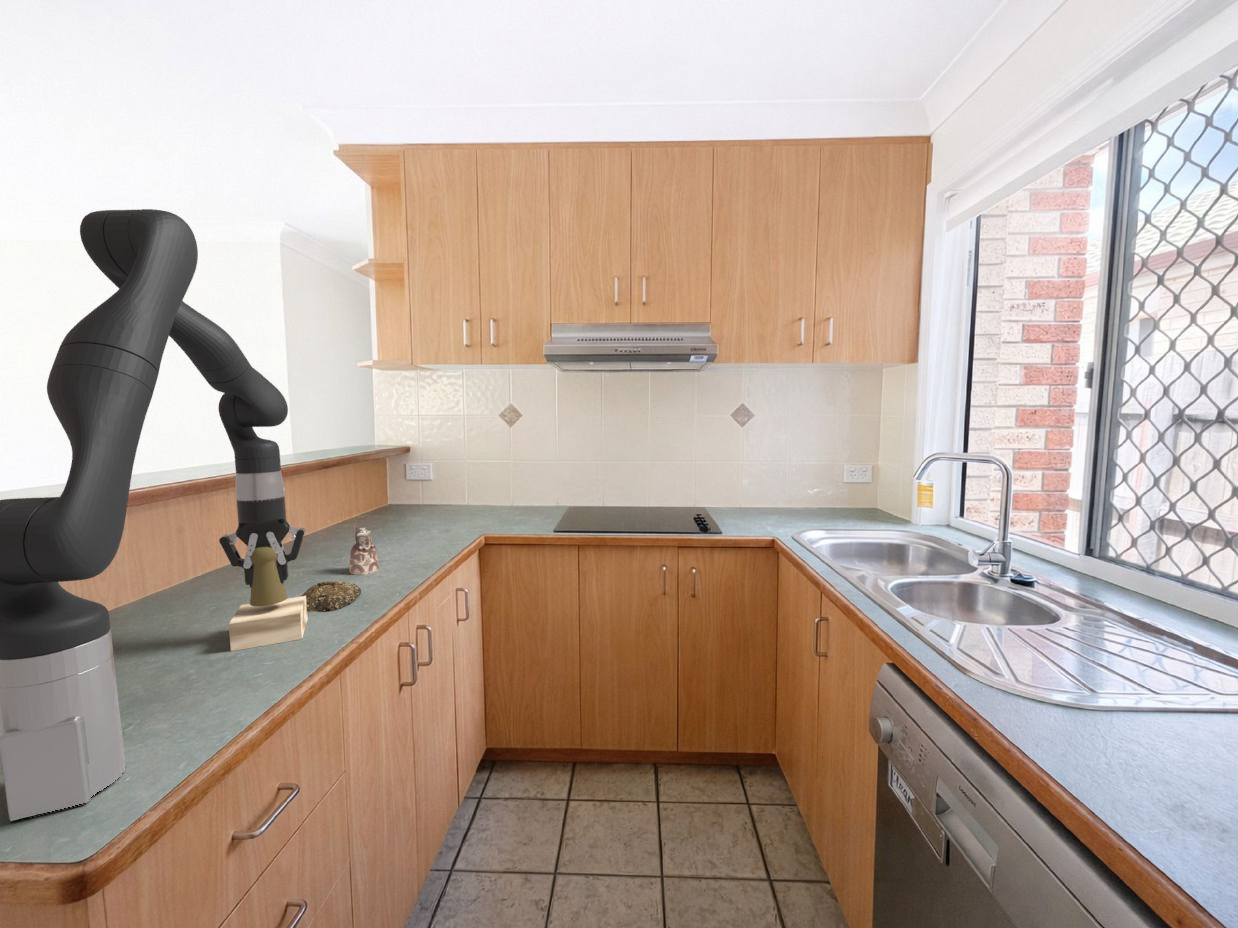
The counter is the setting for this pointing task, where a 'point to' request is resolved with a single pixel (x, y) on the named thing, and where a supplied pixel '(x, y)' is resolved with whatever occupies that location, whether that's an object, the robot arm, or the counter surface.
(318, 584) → the bread roll
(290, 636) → the ash block
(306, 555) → the counter surface
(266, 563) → the olive knobbed peg
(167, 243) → the robot arm
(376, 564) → the figurine
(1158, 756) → the counter surface
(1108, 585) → the counter surface
